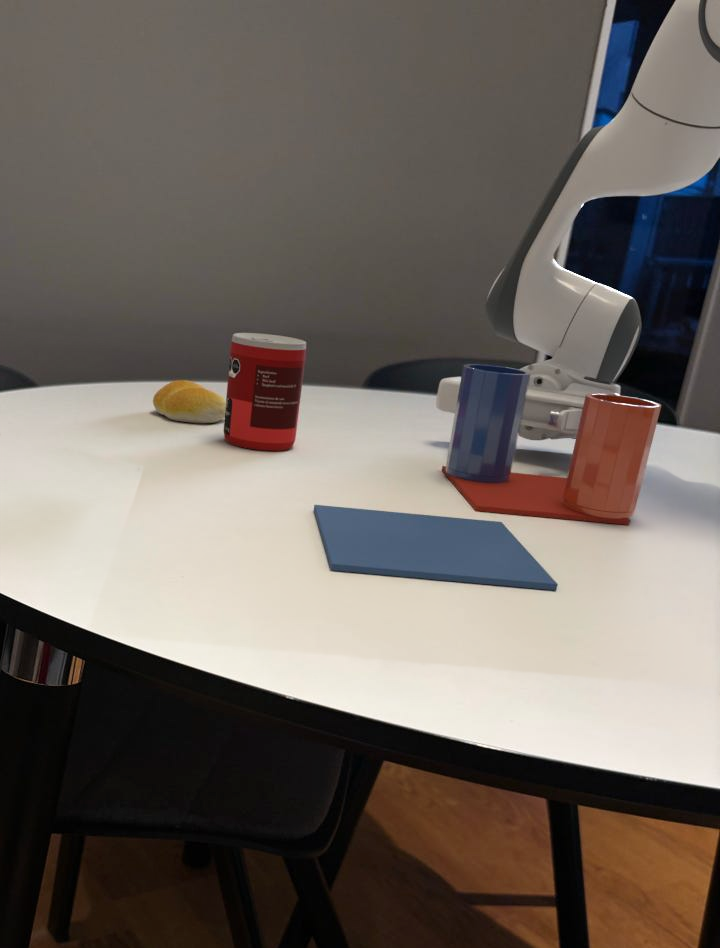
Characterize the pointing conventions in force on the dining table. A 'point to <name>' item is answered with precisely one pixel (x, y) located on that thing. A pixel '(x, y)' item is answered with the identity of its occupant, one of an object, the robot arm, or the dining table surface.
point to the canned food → (264, 391)
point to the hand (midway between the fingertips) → (511, 413)
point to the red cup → (610, 455)
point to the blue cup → (487, 422)
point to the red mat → (523, 497)
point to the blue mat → (427, 548)
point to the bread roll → (189, 403)
